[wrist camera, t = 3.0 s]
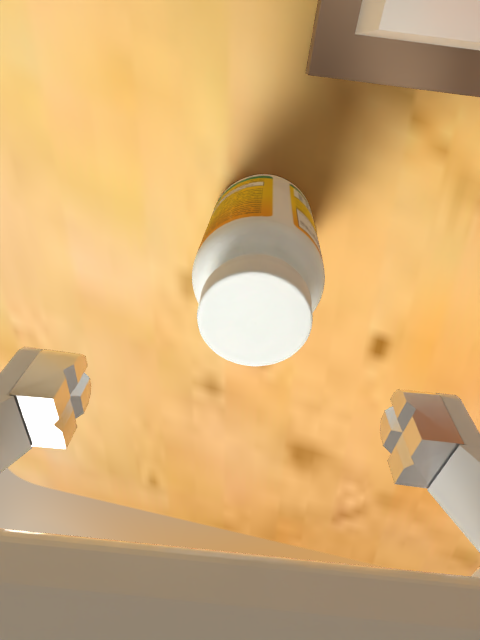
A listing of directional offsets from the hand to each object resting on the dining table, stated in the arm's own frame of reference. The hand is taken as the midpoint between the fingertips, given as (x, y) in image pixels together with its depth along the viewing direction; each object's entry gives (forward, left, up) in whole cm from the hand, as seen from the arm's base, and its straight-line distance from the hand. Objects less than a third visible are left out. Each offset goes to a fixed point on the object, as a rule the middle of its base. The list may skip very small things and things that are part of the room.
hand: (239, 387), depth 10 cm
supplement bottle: (0, 0, -13) cm, 13 cm away
